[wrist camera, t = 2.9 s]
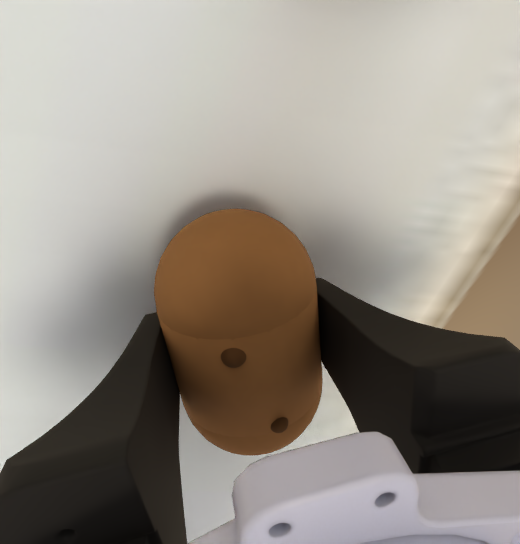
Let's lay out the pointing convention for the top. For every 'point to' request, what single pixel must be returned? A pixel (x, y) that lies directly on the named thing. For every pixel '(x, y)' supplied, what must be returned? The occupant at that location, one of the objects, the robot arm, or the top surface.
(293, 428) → the potato
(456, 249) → the top surface
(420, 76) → the top surface
